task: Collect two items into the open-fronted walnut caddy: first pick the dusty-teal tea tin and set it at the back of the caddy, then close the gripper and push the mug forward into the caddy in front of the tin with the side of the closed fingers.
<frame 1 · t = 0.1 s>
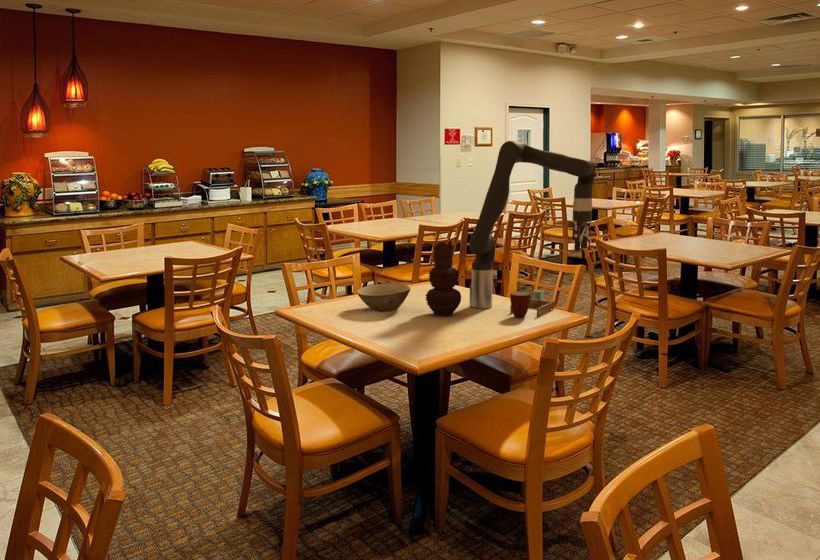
hand: (580, 249, 280), 29 cm above the table, fingers open, 8 cm apart
tea tin: (538, 303, 314), on the table
caddy: (532, 311, 299), on the table
bowl: (383, 310, 305), on the table
vase: (443, 314, 295), on the table
mug: (519, 318, 288), on the table
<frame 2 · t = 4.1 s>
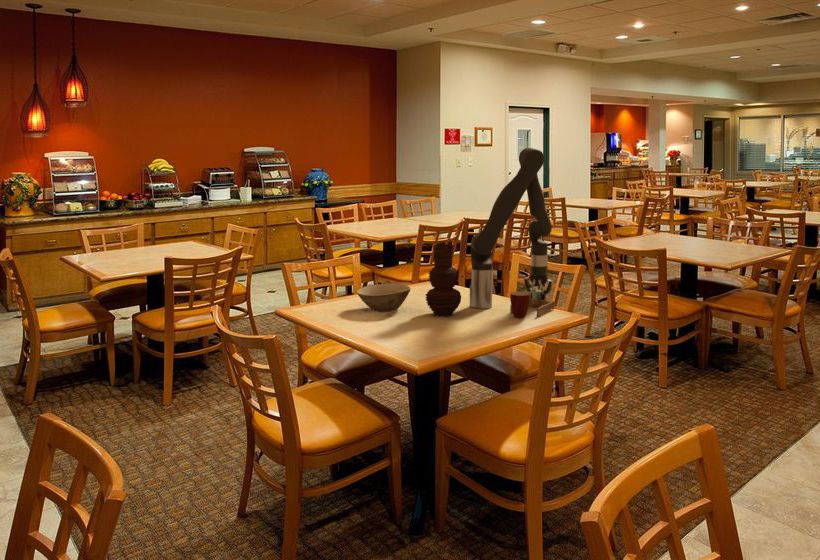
hand: (538, 301, 314), 1 cm above the table, fingers closed on tea tin, 4 cm apart
tea tin: (538, 303, 314), on the table, touching gripper
everything else where it was.
when the fingers open (3 cm above the table, at t = 9.1 s): tea tin drops 2 cm, resting in caddy.
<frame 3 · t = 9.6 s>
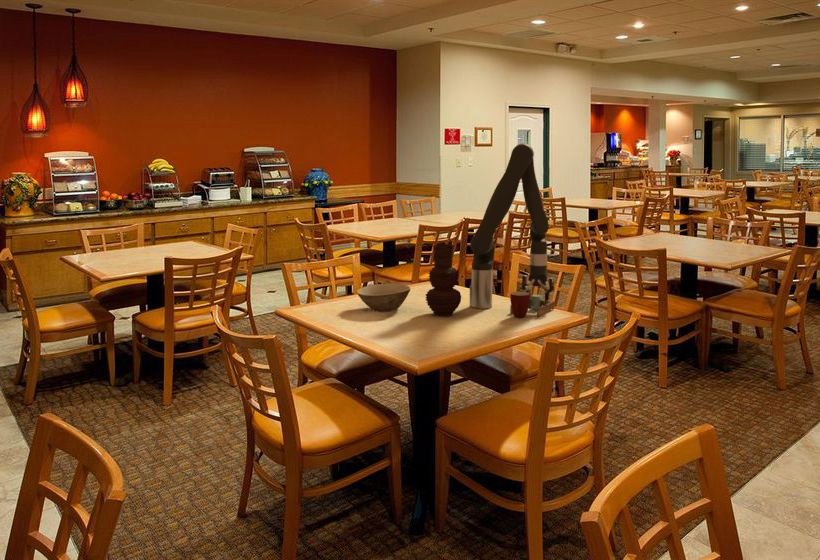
hand: (537, 299, 303), 4 cm above the table, fingers open, 8 cm apart
tea tin: (536, 309, 304), resting in caddy
everything else where it was.
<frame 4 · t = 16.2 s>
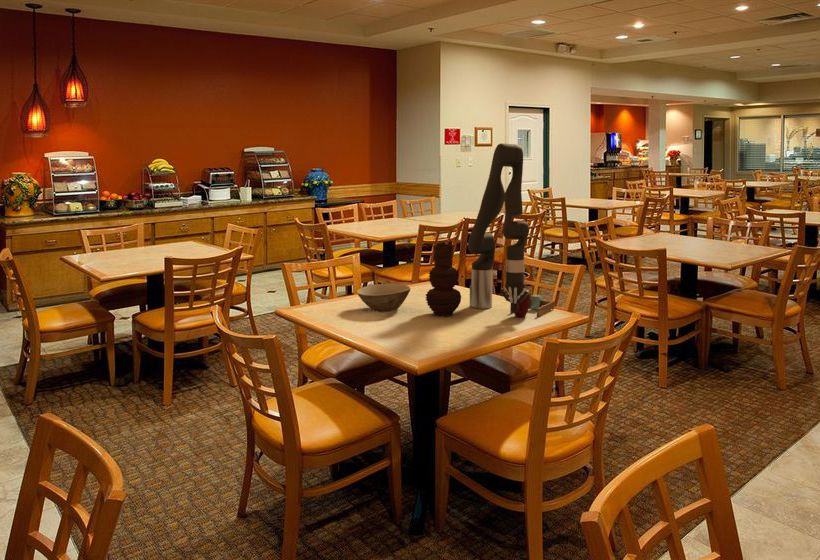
hand: (514, 311, 283), 4 cm above the table, fingers closed
mug: (520, 317, 289), on the table, touching gripper
everything else where it was.
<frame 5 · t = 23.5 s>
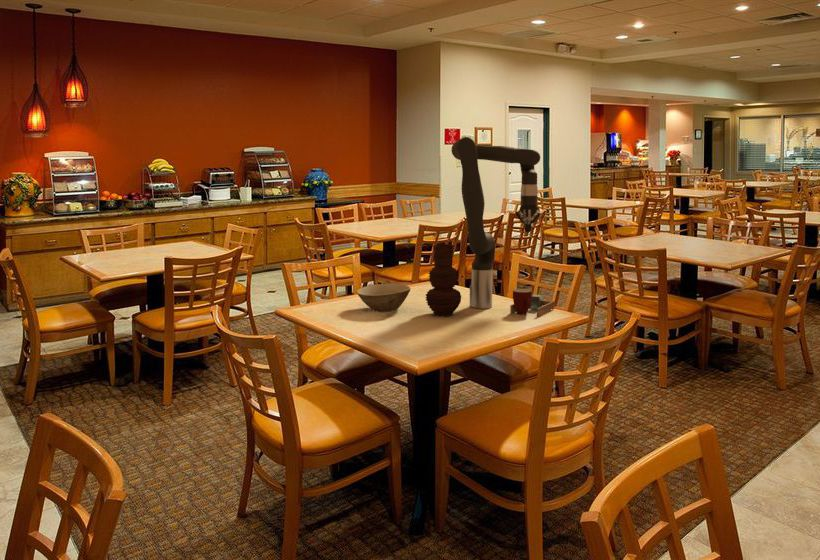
hand: (528, 232, 315), 32 cm above the table, fingers closed
mug: (523, 314, 295), on the table
everything else where it was.
at the end: mug inside the target area (4.1 cm from its centre), on the table; tea tin inside the target area (1.0 cm from its centre), resting in caddy; tea tin tilted 0° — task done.
